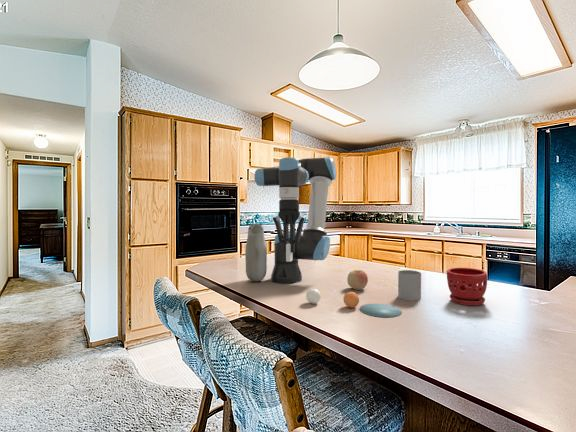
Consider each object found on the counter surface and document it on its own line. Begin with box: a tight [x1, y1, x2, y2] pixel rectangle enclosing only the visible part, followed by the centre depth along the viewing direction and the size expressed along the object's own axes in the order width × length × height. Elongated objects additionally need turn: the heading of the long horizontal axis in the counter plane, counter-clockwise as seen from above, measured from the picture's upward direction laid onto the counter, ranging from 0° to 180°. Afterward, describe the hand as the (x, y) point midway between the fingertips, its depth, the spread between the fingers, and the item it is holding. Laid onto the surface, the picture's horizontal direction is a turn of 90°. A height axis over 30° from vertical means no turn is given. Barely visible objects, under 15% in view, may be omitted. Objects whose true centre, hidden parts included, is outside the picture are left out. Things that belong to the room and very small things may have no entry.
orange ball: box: [343, 291, 360, 309], centre depth 113 cm, size 6×6×6 cm
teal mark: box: [359, 303, 402, 318], centre depth 110 cm, size 14×14×1 cm
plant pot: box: [446, 267, 488, 307], centre depth 119 cm, size 13×13×12 cm
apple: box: [346, 269, 369, 291], centre depth 138 cm, size 9×9×8 cm
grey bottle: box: [244, 222, 268, 283], centre depth 153 cm, size 10×10×28 cm
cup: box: [397, 269, 422, 302], centre depth 125 cm, size 8×8×10 cm
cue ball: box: [305, 288, 322, 305], centre depth 118 cm, size 6×6×6 cm
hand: (289, 260), depth 121 cm, fingers closed
